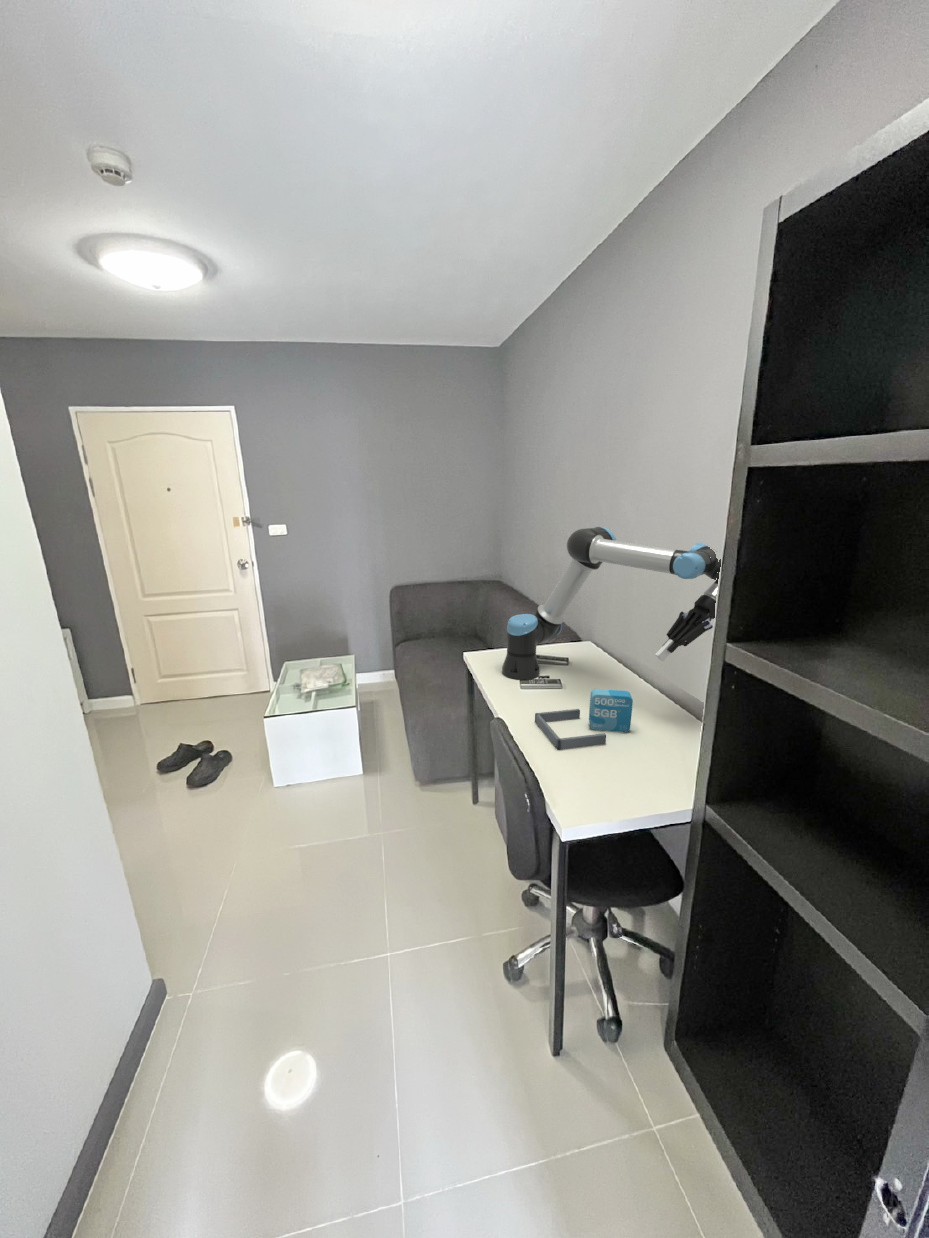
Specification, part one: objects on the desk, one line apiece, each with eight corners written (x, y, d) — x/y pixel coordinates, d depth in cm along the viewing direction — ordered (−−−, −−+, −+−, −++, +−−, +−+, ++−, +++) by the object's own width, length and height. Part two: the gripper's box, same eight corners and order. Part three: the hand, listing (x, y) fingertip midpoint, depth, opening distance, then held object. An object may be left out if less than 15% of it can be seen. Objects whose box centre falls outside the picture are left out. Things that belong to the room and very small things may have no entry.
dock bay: (534, 721, 155) (535, 713, 154) (578, 717, 158) (578, 708, 157) (557, 750, 138) (558, 740, 137) (605, 744, 141) (606, 734, 140)
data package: (589, 730, 150) (592, 694, 147) (588, 723, 154) (590, 688, 151) (629, 733, 148) (633, 696, 145) (627, 726, 152) (630, 690, 149)
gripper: (735, 615, 143) (679, 672, 144) (704, 605, 155) (653, 658, 156) (722, 598, 141) (665, 657, 141) (692, 589, 153) (639, 643, 154)
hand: (658, 657), depth 149 cm, fingers closed
